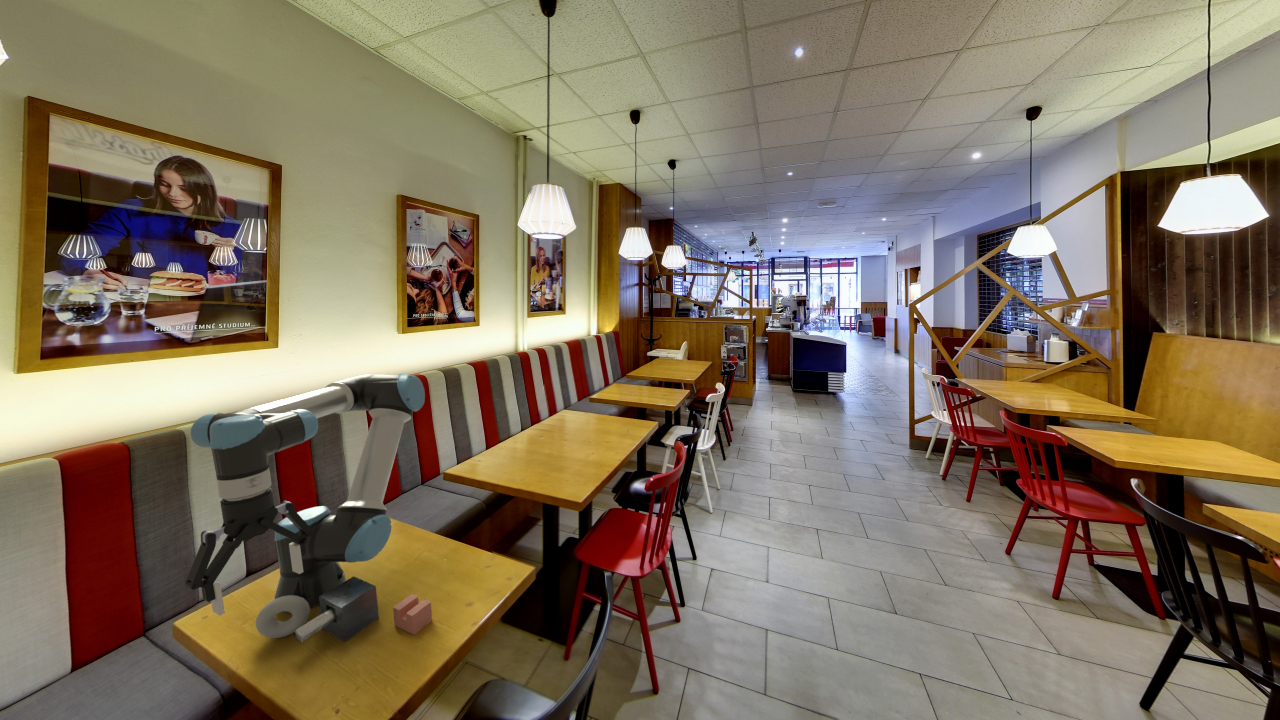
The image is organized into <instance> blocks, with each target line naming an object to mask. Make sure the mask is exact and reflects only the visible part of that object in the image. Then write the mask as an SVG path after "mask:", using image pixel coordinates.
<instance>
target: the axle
mask: <svg viewBox="0 0 1280 720" xmlns="http://www.w3.org/2000/svg"><path fill="white" fill-rule="evenodd" d="M334 620H336V611H335V609H334V608H330V609H328V610H327V611H325V612H323V613H322V614H321V613H320V614H318V615H317V616H315V617H313V619H311V620H309V621H308V622H307V621H306V623H305V624H304V625H303V626H301V627H299V628H298V629H296V631H295V632H294V634H295V637H296V639H297V640H298V641H299V642H301V643H302V642H304V641H306V640H307V639H309V637H311V636H313V635H315V634H317V632H319V631H321V630H323V628H324V627H325V626H327V625H328V624H330V623H331V622H333V621H334Z"/></svg>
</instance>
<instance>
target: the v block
mask: <svg viewBox="0 0 1280 720" xmlns="http://www.w3.org/2000/svg"><path fill="white" fill-rule="evenodd" d="M392 611H393V621H394V622H393V623H394V626H395V627H397V628H399V629H401V630H404V631H406V632H407V633H409V634H412V635H416V634H417V633H418V632H419V631H421V629H423V628H424V627H425V626H426V625H428V624H429V623H430V622H431V621H433V616H432V615H433V614H432V602H431V601H429V600H427V599H423V600H421V601H420V602H419V596H417V595H415V594H412V593H411V594H409V595H408V596H407V597H405V598H404V599H403V600H401V601H400V602H398V603H397V604H395V605H394V606H393V607H392Z"/></svg>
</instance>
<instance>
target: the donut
mask: <svg viewBox="0 0 1280 720" xmlns="http://www.w3.org/2000/svg"><path fill="white" fill-rule="evenodd" d="M284 611H287V612H286V613H290V614H291V617H290V618H289V619H288V620H285V621H284V620H283V621H281V620H277V619H276V616H277V614H280V613H285V612H284ZM310 611H311V608H310V607H309V604H308V602H307V601H306V600H305V599H304V598H302V597H299V596H294V595H288V596H282V597H279V598H277V599H275V598H274V599H272V600H271V601H270V602H268V603H266V604H265V605H264V606H263V607H262V608H261V610H260V611H259V612H258V614H257V616H256V619H255V627H256V630H257V632H258V633H259V634H260V635H261V636H263V637H265V638H268V639H280V638H284V637H288V636H290V635H292V634H295V631H296V629H298V628H299V627H301V626H303V625H304V624H306V623H307V621H308V618H309V617H310V613H311V612H310Z"/></svg>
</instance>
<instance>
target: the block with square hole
mask: <svg viewBox="0 0 1280 720" xmlns="http://www.w3.org/2000/svg"><path fill="white" fill-rule="evenodd" d="M377 594H378V593H377V586H376V585H374V584H372V583H371V582H368V581H366V580H363V579H360V578H358V577H356V576H352V577H350V578H348V579H345V582H343V583H341V584H340V585H338V586H336V587H334V588H333V589H331V590H329V591H328V592H326V593H324V594H322V595H321V596H319V602H320V604H319V609H320V610H319V611H320V614H322V613H323V612H325V611H327V610H328V609H330V608H334V609H335V611H336V620H334V621H333V622H331V623H330V624H328V625H327V626H325V627H324V628H322V630H323V631H324V632H327V634H330V635H332V636H333V637H336V639H339V640H341V641H343V642H344V643H346V642H348V641H349V640H351V639H352V638H354V637H355V636H356V635H358V634H359V633H360V632H362V631H363V630H365V629H366V628H367V627H369V626H370V625H372V624H373V623H374V622H375V621H377V620H378V619H380V613H379V603H378V595H377Z"/></svg>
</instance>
